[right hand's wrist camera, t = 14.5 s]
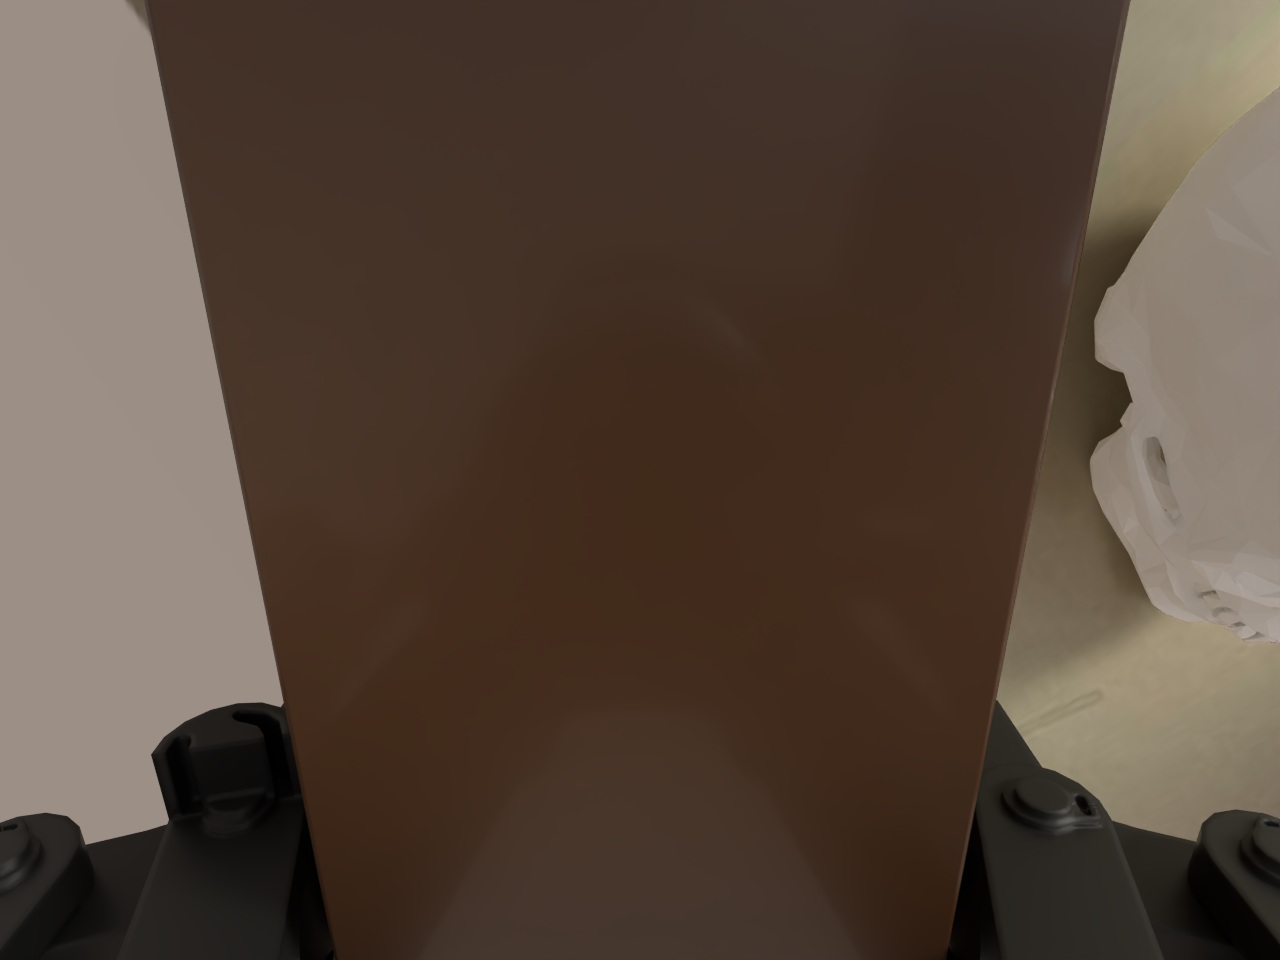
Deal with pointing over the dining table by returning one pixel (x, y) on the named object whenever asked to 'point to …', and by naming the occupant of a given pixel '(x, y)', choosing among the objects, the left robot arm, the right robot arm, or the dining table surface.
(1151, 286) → the skull
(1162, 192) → the dining table surface
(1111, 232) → the dining table surface
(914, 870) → the walnut box
